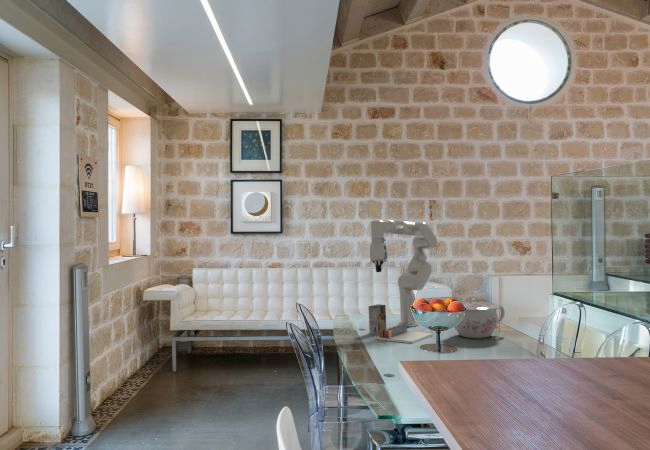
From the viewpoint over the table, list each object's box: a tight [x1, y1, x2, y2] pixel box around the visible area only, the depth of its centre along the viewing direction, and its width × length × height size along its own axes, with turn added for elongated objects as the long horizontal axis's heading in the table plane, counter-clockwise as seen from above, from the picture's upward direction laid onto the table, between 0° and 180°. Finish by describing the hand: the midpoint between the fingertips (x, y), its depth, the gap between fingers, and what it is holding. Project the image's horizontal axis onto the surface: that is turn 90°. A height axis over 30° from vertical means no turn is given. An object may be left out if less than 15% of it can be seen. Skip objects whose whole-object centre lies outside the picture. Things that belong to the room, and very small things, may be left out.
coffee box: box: [368, 304, 387, 336], centre depth 317 cm, size 9×6×16 cm
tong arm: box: [384, 325, 405, 338], centre depth 302 cm, size 19×3×4 cm, turn 144°
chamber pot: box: [453, 298, 506, 340], centre depth 299 cm, size 28×28×21 cm
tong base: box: [378, 322, 408, 338], centre depth 305 cm, size 22×5×5 cm, turn 142°
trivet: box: [376, 330, 434, 344], centre depth 302 cm, size 24×22×1 cm
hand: (378, 271), depth 323 cm, fingers closed
